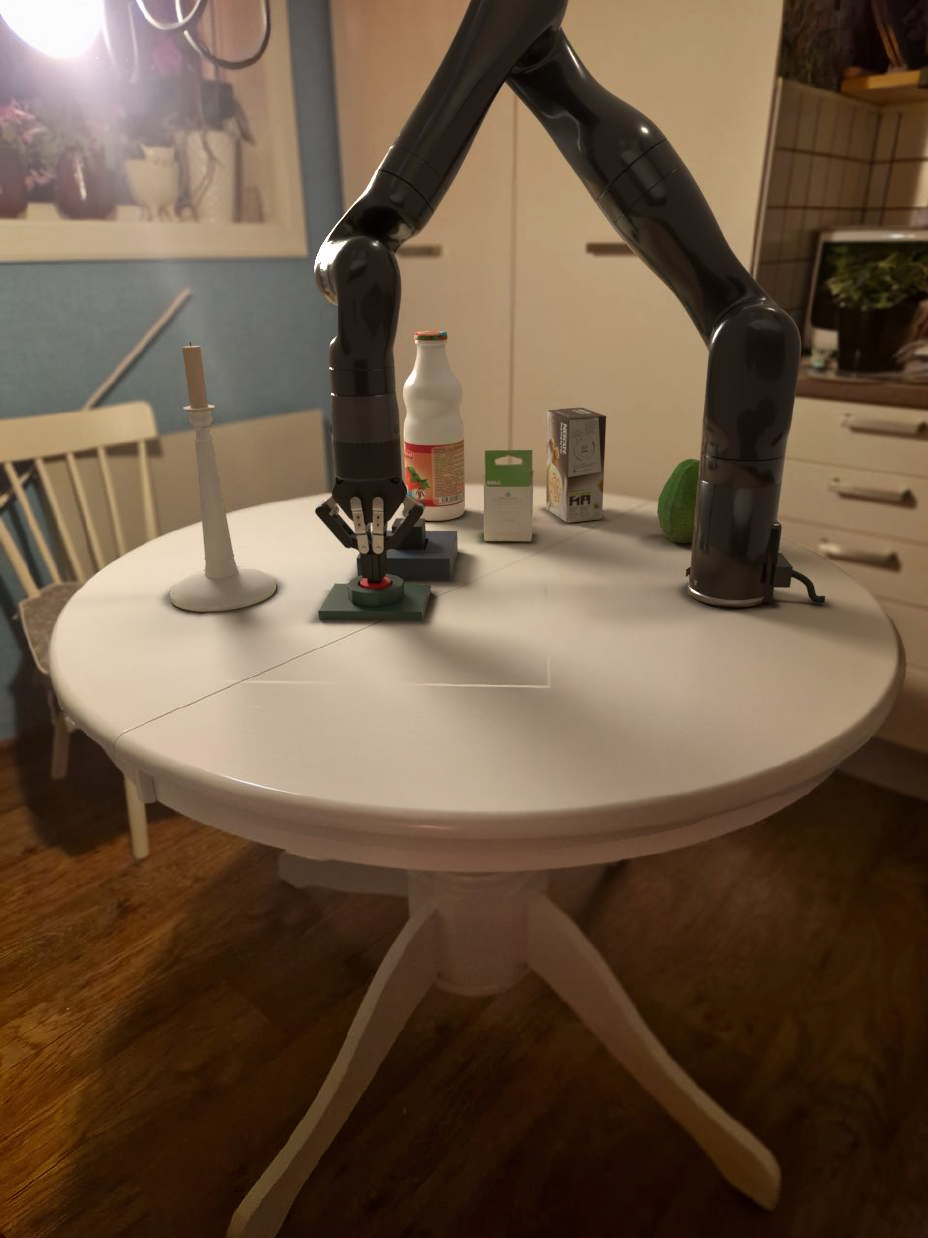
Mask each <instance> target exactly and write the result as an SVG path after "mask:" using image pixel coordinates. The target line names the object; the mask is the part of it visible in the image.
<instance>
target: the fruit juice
mask: <svg viewBox="0 0 928 1238" xmlns="http://www.w3.org/2000/svg"><path fill="white" fill-rule="evenodd" d="M413 339H414V344H415V346H416V357H415V362H414V365H413V368H412V371H411V373H410V374H409V376H408V377H407V378H406V380H405V383H404V384H403V388H402V399H403V403H404V406H405V409H406V416H405V418H404V422H403V449H404V452H403V453H404V472H405V473H404V475H405V486H406V487H407V494H408V495H409V496H410V497H412V498H413V499H414V500H416V501H417V502H418V501H422V502H424V504H425V509H424V512H423V514H422V516H421V517H420V518H425V522H429V521H430V522H440V521H448V520H454V519H457V518H460V517H462V515H464V513H465V510H466V482H465V481H466V479H465V429H464V421H463V418H462V416H461V411H460V410H461V409H460V408H461V405H462V400H463V388H462V387H463V386H462V383H461V382H460V380H459V379H458V377H457V376H456V375H455V373H454V372H453V370H452V368H451V365H450V363H449V360H448V356H447V351H446V346H447V344H448V339H449V337H448V333H447V331H444V330H421V331H416V332H414V338H413Z"/></svg>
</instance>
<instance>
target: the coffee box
mask: <svg viewBox="0 0 928 1238" xmlns="http://www.w3.org/2000/svg"><path fill="white" fill-rule="evenodd" d="M606 432H607V415H604V414H602V413H599V412H596V411H593V410H590V409H587V408H584V407H569V408H559V409H547V410H546V490H545V491H546V493H545V495H546V496H545V498H546V499H545V508H546V509H545V510H546V511H548V512H549V513H551V514H553V515H554V516H556V517H557V518H559V519H560V520H562V521H563V522H564V523H567V524H570V523H571V524H572V523H578V522H587V521H598V520H602V519H603V508H604V507H603V506H604V505H603V504H604V484H605V483H604V480H605V457H606V456H605V454H606V452H605V451H606Z"/></svg>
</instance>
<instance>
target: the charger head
mask: <svg viewBox="0 0 928 1238" xmlns="http://www.w3.org/2000/svg"><path fill="white" fill-rule="evenodd" d="M404 518H405V517H395V519H394V521H393V523H392V525H391V531H392V534H393V533H394V531H395V530H396V529H397V527H398V526H399V525H400V523H401V522H402V521H403V519H404ZM426 531H427V530H426V520H425V518H419V520H418V521H417V522H416V524H415V525H414V526H413V527H412V529H411V530H410V531H409V533H408V534H407V535H406V536H405V538H404V539H403V540H402V542H401V543H400V544H399V546H398V547H397V548H394V549H406V550H425V548H426Z"/></svg>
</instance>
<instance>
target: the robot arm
mask: <svg viewBox="0 0 928 1238" xmlns="http://www.w3.org/2000/svg"><path fill="white" fill-rule="evenodd" d="M568 4H569V0H470V1H469V3H468V4H467V5H468V6H467V8H466V10H465V13H464V15H463V17H462V20H461V22H460V24H459V26H458V28H457V30H456V33H455V35H454V37H453V38H452V41H451V43H450V45H449V47H448V49H447V51H446V53H445V55H444V56H443V59H442V60H441V62H440V64H439V66H438V67H437V69H436V71H435V73H434V75H433V77H432V78H431V80H430V82H429V84H428V85H427V86H426V88H425V90H424V92H423V94H422V95H421V97H420V99H419V100H418V102H417V104H415V107H414V109H413V110H412V111H411V113H410V115H409V117H408V118H407V120H406V121H405V123H404V125H403V126H402V128H401V130H400V131H399V133H398V134H397V136H396V137H395V139H394V140H393V142H392V143H391V146H390V147H389V149H388V150H387V152H386V153H385V156H384V157H383V159H382V160H381V162H380V163H379V165H378V167H377V169H376V170H375V172H374V174H373V175H372V178H371V179H370V181H369V183H368V185H367V186H366V188H365V190H364V191H363V193H362V194H361V195H360V196H359V197H358V199H357V200H356V201H355V202H354V203H353V204H352V205H351V206H350V207H349V209H348V210H347V212H346V213H345V214H344V215H343V216H342V217H341V218H340V220H339V221H338V222H337V223H336V225H335V226H334V227H333V229H332V230H331V232H329V234H328V235H327V237H326V238H325V240H324V242H323V243H322V245H321V246H320V248H319V251H318V253H317V256H316V259H315V263H314V269H313V271H314V281H315V284H316V287H317V289H318V292H319V293H320V294H321V296H322V297H323V298H324V299H325V300H326V301H327V302H329V303H331V304H333V306H337V329H336V330H337V331H336V332H337V333H336V336H335V337H333V339H332V340H330V343H329V347H328V370H329V381H330V382H329V383H330V392H331V393H330V409H329V410H330V424H329V429H330V435H331V445H332V457H333V470H334V484H333V486H332V489H331V495H330V496H329V497H328V498H327V499H325V500H322V501H321V502H320V503H319V504H318V505H317V506H316V508H315V509H314V513H315V515H316V516H317V517H318V518H319V519H320V521H321V522H322V523H323V524H324V525H325V527H326V528H327V529H328V530H329V531H330V532H331V533H332V535H334V537H335V538H337V540H338V541H339V542H340V544H341V545H342V546H343V547H344V548H345V549H353V550H357V551H358V553H360V557H361V572H362V576H363V578H367V582H368V583H380V582H381V580H382V578H384V577H385V575H386V573H387V554H386V551H387V550H389V549H391V548H393V549H394V548H397V547H398V546H399V544H400V543H401V542H402V540H403V539H404V538H405V536H406V535H407V534H408V533H409V531H410V530H411V529H412V527H413V526H414V525H415V524H416V522H417V521H418V520H419V518H420V517H421V516H422V514H423V512H424V509H425V504H424V502H422V501H418V502H417V501H416V500H414V499H413V498H412V497H410V496H409V495H408V494H407V487H406V483H405V482H404V480H403V469H402V468H403V467H402V445H401V421H400V408H399V402H398V398H397V397H398V396H397V384H396V383H397V382H396V363H395V362H396V361H395V353H394V351H395V342H396V338H397V332H398V328H399V327H398V326H399V318H400V311H401V303H402V291H403V289H402V287H403V286H402V275H401V270H400V269H401V268H400V264H399V261H398V259H397V256H396V255H397V253H398V252H399V250H400V249H401V247H402V246H403V245H404V244H406V242H408V241H410V240H411V239H413V238H415V237H417V236H418V235H420V234H421V233H422V232H423V231H424V229H425V227H427V225H428V224H429V223H430V221H431V219H432V217H433V216H434V214H435V213H436V212H437V210H438V208H439V207H440V205H441V203H442V202H443V200H444V198H445V197H446V195H447V193H448V192H449V190H450V188H451V187H452V185H453V183H454V181H455V179H456V178H457V176H458V174H459V172H460V170H461V168H462V166H463V164H464V162H465V160H466V158H467V157H468V154H469V153H470V150H471V148H472V146H473V144H474V142H475V139H476V137H477V135H478V133H479V131H480V129H481V127H482V124H483V123H484V121H485V118H486V116H487V114H488V112H489V111H490V108H491V107H492V105H493V103H494V101H495V99H496V98H497V96H498V94H499V92H500V90H501V89H502V88H503V86H504V84H506V85H507V86H508V87H509V89H510V90H511V91H512V92H513V93H514V95H516V96H517V97H518V99H519V100H520V101H521V102H522V103H523V104H524V105H525V107H526V108H527V109H528V110H529V112H531V114H532V115H533V116H534V117H535V118H536V120H537V121H538V122H539V123H540V124H541V126H542V127H543V128H544V130H545V131H546V133H547V134H548V136H549V137H550V138H551V140H552V142H553V143H554V144H555V146H556V148H557V149H558V151H559V152H560V154H561V155H562V156H563V158H564V159H565V161H566V162H567V164H568V165H569V166H570V168H571V169H572V170H573V172H574V174H575V175H576V176H577V178H578V179H579V181H580V182H581V183H582V185H583V186H584V188H585V189H586V191H587V192H588V194H589V195H590V197H591V199H592V200H593V202H594V203H595V204H596V206H597V207H598V209H599V210H600V211H601V213H602V215H603V216H604V217H605V219H606V220H607V221H608V223H609V224H610V225H611V227H612V228H613V229H614V231H615V233H617V235H618V236H619V237H620V238H621V239H622V241H623V243H624V244H625V245H626V246H627V247H628V248H629V249H630V250H631V252H632V253H633V254H634V255H635V256H636V257H637V258H638V259H639V260H640V261H641V262H642V263H643V264H644V265H645V266H646V268H648V269H649V270H650V272H652V274H654V275H655V276H656V277H657V278H658V279H659V280H660V281H661V282H662V284H664V285H665V286H666V287H667V288H668V289H669V290H670V291H671V293H672V294H673V295H674V296H675V298H676V299H677V300H678V301H679V303H680V305H681V306H682V307H683V309H684V311H685V312H686V313H687V315H688V317H689V319H690V320H691V322H692V325H694V327H695V329H696V331H697V332H698V334H699V336H700V338H701V339H702V341H703V343H704V345H705V347H706V349H707V351H708V357H707V368H706V380H705V392H704V402H703V403H704V404H703V415H702V423H701V424H702V427H701V438H700V439H701V440H700V453H699V455H700V456H699V460H700V464H699V475H698V486H697V497H696V508H695V519H694V530H693V542H691V554H690V565H689V567H687V568H685V577H688V581H687V589H686V591H687V593H688V595H689V596H690V597H691V598H693V599H695V600H697V601H699V602H702V603H704V604H707V605H712V606H716V607H723V608H724V607H725V608H748V607H753V606H758V605H761V604H772V603H773V598H774V590H775V589H776V588H777V589H780V588H781V589H788V588H791V583H792V579H795V580H796V581H799V582H800V583H802V584H803V585H804V586H805V587H806V591H807V595H808V597H809V599H810V601H812V602H813V603H816V604H825V602H826V595H817V593H816V587H815V585H814V583H813V582H812V580H811V579H810V578H809V577H807V576H806V575H805V574H804V573H801V572H799V571H797V570H795V569H794V566H793V565H792V564H791V562H790V561H789V560H788V559H787V557H785V555H784V554H783V553H782V552H780V547H781V546H780V545H781V537H782V529H783V527H782V524H781V523H780V522H779V520H778V517H779V516H778V515H779V508H780V501H781V491H782V485H783V477H784V468H785V461H786V454H787V453H786V452H787V445H788V440H789V435H790V432H791V429H792V428H791V427H792V421H793V415H794V408H795V401H796V395H797V394H796V392H797V387H798V379H799V372H800V364H801V357H802V355H801V353H802V339H801V334H800V330H799V328H798V325H797V323H796V321H795V320H794V319H793V318H792V316H790V315H789V313H788V312H787V311H786V310H784V309H783V307H781V306H780V305H779V304H778V303H777V302H776V301H774V299H773V298H771V296H770V295H769V294H768V293H767V292H766V291H765V289H764V288H763V287H762V286H761V285H760V284H759V283H758V281H756V279H755V278H754V277H753V275H752V274H750V272H749V271H748V270H747V269H746V268H745V265H743V263H742V262H741V261H740V260H739V258H738V257H737V255H736V254H735V252H734V250H732V248H731V246H730V245H729V242H728V240H727V239H726V237H725V235H724V233H723V231H722V228H721V227H720V224H719V223H718V221H717V219H716V216H715V214H714V212H713V210H712V208H711V206H710V204H709V202H708V200H707V199H706V197H705V195H704V194H703V191H702V190H701V188H700V186H699V185H698V183H697V181H696V179H695V177H694V176H693V174H692V172H691V171H690V170H689V168H688V167H687V165H686V164H685V162H684V161H683V159H682V158H681V156H680V155H679V153H678V152H677V151H676V149H675V147H674V146H673V144H672V143H671V142H670V141H669V140H668V137H667V136H666V135H665V134H664V133H663V131H662V130H661V129H660V127H658V125H657V124H656V123H655V122H654V121H653V120H652V119H651V118H649V117H648V116H647V115H646V114H644V113H643V112H642V111H640V110H639V109H637V108H636V107H634V106H633V105H631V104H630V103H628V102H626V101H625V100H623V99H622V98H620V97H619V96H617V95H616V94H614V93H612V92H611V91H610V90H608V89H606V88H605V87H604V86H603V85H602V84H601V83H599V81H598V80H597V79H596V78H595V77H594V76H593V75H592V73H591V72H590V71H589V70H588V68H587V67H586V65H585V64H584V62H583V61H582V60H581V58H580V56H579V54H578V53H577V51H576V50H575V49H574V47H573V45H572V44H571V42H570V40H569V39H568V37H567V35H566V33H565V31H564V29H563V27H562V24H563V21H564V19H565V15H566V12H567V9H568ZM402 504H403V509H402V511H401V514H402V516H403V518H404V519H403V521H402V522H401V523H400V525H399V526H398V527H397V529H396V530H395V531H394V533H393V534H392V535H389V536H387V531H388V527H389V521H390V520H391V519H392V518H393V517H394V515H395V514H396V512H397V511H398V510H399V508H400V507H401V505H402ZM340 509H341V510H342V511H343V513H344V514H345V515H346V517H347V518H348V519H349V520H350V521H352V522H353V528H354V529H352V528H351V526H350V525H349V523H347V522H346V520H344V518H343V517H342V516H341V515H340V514H339V513H340ZM371 527H372V529H371ZM372 531H373V548H372V535H371V532H372Z"/></svg>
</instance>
